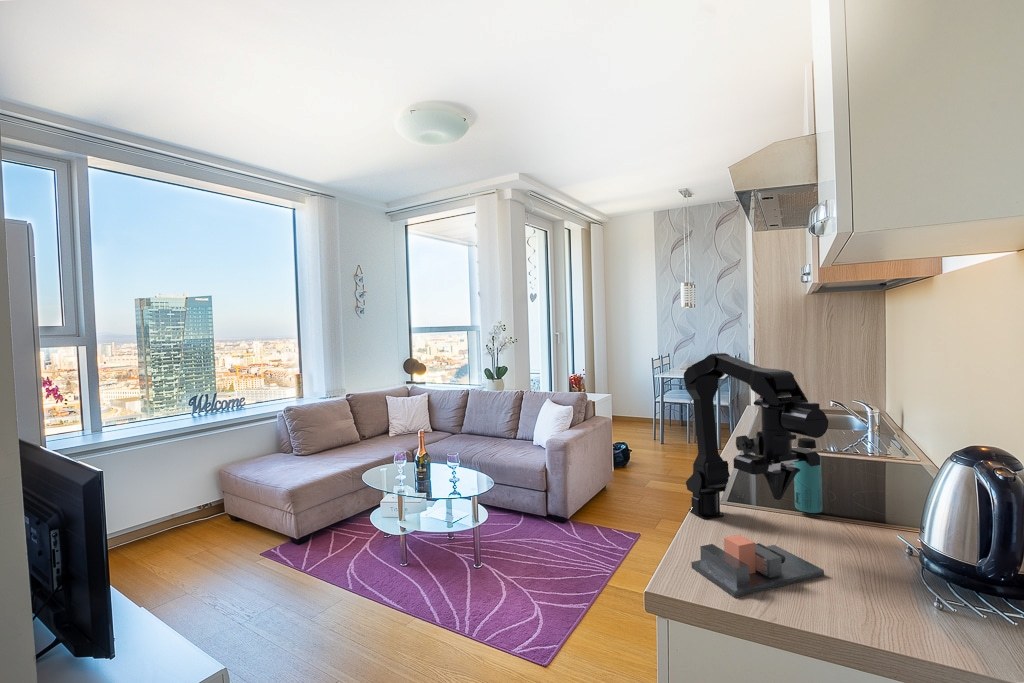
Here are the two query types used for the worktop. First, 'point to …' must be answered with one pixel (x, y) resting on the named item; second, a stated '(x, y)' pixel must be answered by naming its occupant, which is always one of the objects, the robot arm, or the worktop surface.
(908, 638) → the worktop surface
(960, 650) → the worktop surface
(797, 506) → the beverage bottle
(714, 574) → the vise base
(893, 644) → the worktop surface
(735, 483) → the worktop surface
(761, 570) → the sliding jaw
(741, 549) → the brick-red block
